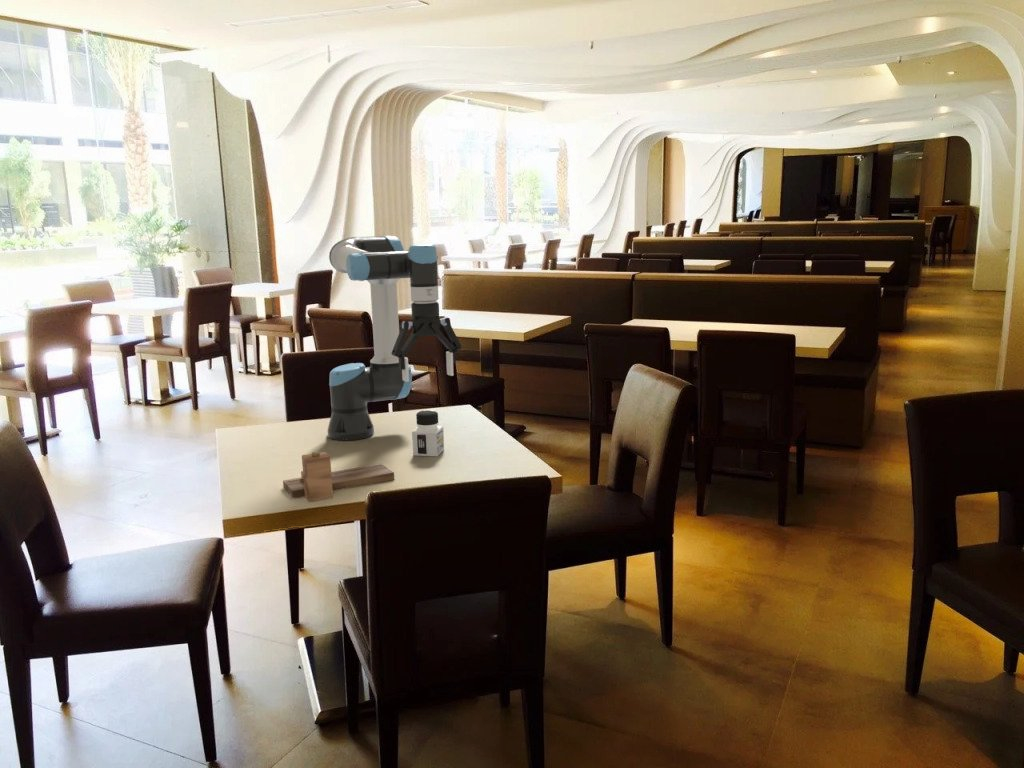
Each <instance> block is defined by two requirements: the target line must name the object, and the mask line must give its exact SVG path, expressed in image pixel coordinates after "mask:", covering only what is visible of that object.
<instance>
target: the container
mask: <svg viewBox="0 0 1024 768" xmlns="http://www.w3.org/2000/svg"><path fill="white" fill-rule="evenodd" d="M415 415H416V417H415V418H416V428H415V429H413V430H412V431H411V439H412V455H413V456H414V457H415V456H416V457H418V456H419V457H422V456H423V457H438V456H439V455H440V454H441V453H442V452H443V451H445V443H444V442H445V439H444V438H445V436H444V426H443V425H439V414H438V411H436V410H433V409H424V410H420V411H418V412H417V413H416V414H415Z"/></svg>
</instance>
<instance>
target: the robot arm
mask: <svg viewBox="0 0 1024 768" xmlns="http://www.w3.org/2000/svg"><path fill="white" fill-rule="evenodd" d="M328 253H329V256H328V259H329V262H330V264H331V266H332V267H333V269H335V270H336V271H337V272H340V273H341V274H347V275H348V279H350V281H358V282H364V281H367V282H368V283H369V286H370V300H371V319H372V320H371V321H372V334H373V336H372V337H373V338H372V339H373V351H374V353H373V354H374V355H373V357H372V359H370V360H369V363H370V365H369V366H367V367H366V365H365V364H364V363H362V362H356V363H354V362H351V363H346V364H343V365H339V366H336V367H334V368H333V369H332V370H331V369H330V370H331V371H330V372H329V380H328V381H329V383H328V385H329V392H330V405H331V416H330V420H329V424H328V426H327V427H328V428H327V437H328V439H331V440H336V441H355V440H361V439H362V440H363V439H366V438H369V437H372V436H373V435H374V434H375V426H374V424H373V421H372V419H371V416H370V414H369V412H368V403H370V402H372V403H373V402H381V401H389V400H390V401H391V400H393V401H396V400H398V399H404V398H407V396H408V395H409V394H410V391H411V389H412V383H413V382H412V381H413V380H412V377H413V375H412V374H413V373H412V367H411V365H410V364H409V358H408V357H406V356H407V355H408V353H409V352H410V350H411V349H412V347H413V346H414V344H415V343H416V342H417V340H418V339H419V338H420V337H427V336H430V337H431V336H435V337H436V338H437V339H438V340H439V341H440V342H441V343H442V345H443V346H444V347H445V348H446V349H447V350H448V351H446V352H445V358H446V359H445V361H446V363H445V365H446V375H448V376H450V377H453V376H454V364H456V361H457V359H456V353H457V352H458V351H459V350H461V349H462V348H463V346H462V345H461V342H460V340H459V338H458V336H457V335H456V333H455V331H454V329H453V327H452V324H451V319H450V317H447V316H444V317H442V318H440V303H439V302H438V301H439V299H440V298H439V284H438V283H439V278H438V277H439V276H438V275H439V274H438V254H437V253H438V252H437V247H436V246H435V244H431V243H429V244H427V243H426V244H412V245H411V244H410V245H409V248H408V249H407V250H405V249H404V246H403V244H402V242H401V240H400V238H399V237H397V236H394V235H375V236H351V237H347V238H344V239H341V240H339V241H337V242H336V243H335V244H334V245H332V247H331V249H330V251H329V252H328ZM400 279H409V281H410V282H409V283H410V301H412V303H411V304H410V306H411V318H412V319H411V321H405V320H401V324H399V323H400V322H399V304H398V285H397V283H398V281H399V280H400ZM440 325H441V326H442V327H443V329H444V331H445V332H446V334H447V336H448V338H449V340H448V338H447V337H446V336H445V335H444V334H443V332H442V331H441V329H440V328H439V327H440ZM411 328H412V329H413V330H412V331H411V333H410V335H409V337H408V338H407V339H406V337H407V336H408V333H409V330H410V329H411Z"/></svg>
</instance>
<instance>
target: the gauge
mask: <svg viewBox="0 0 1024 768" xmlns="http://www.w3.org/2000/svg"><path fill="white" fill-rule="evenodd" d="M331 463H332V462H331V456H330V455H329V454H328V453H327V452H326V451H321V452H320V451H314V452H313V451H312V452H311V453H308V454H302V455H301V465H302V471H301V472H300V475H301V478H302V479H303V480H304V491H305V496H304V497H305V498H306V499H307V500H308V501H309V502H314V501H319V500H325V499H329V498H333V497H334V491H333V489H332V475H331V472H332V464H331Z"/></svg>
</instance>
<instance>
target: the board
mask: <svg viewBox="0 0 1024 768" xmlns="http://www.w3.org/2000/svg"><path fill="white" fill-rule="evenodd" d="M331 475H332V489H333V492H334V491H339V490H345V489H349V488H350V489H351V488H355V487H362V486H367V485H371V484H372V485H373V484H377V483H383V482H387V481H388V482H389V481H393V480H395V471H393V470H391V469H390V468H388V467H387V466H385V464H383V463H380V462H379V463H375V464H370V465H364V466H359V467H358V466H357V467H353V468H347V469H342V470H336V471H335V470H334V471H331ZM282 483H283V484H282V486H283V487H282V488H283V489H284V490H285V491H286V492H287V493H288V494H289V495H290V497H291V498H292V499H297V498H301V497H306V496H305V491H304V480H303V479H302V478H301V477H297V478H296V477H295V478H291V479H283V480H282Z"/></svg>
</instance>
